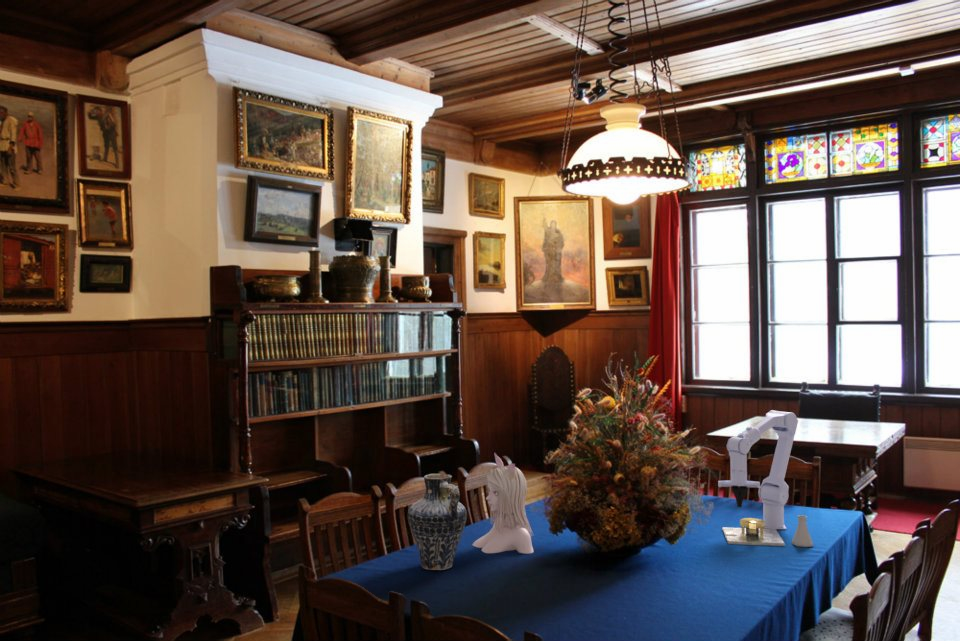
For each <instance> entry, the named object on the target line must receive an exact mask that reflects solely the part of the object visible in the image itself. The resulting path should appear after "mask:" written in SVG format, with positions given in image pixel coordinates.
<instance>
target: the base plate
mask: <svg viewBox="0 0 960 641" xmlns="http://www.w3.org/2000/svg"><path fill="white" fill-rule="evenodd" d="M744 529H745V534H742V527H729V526H727V527H726V526H725V527H724V526H723V527H722V533H723V535H724V537H725V540H726V542H727V545H747V546H749V545H750V546H769V547H772V546H773V547H785V546H786V543H785V542H784V540H783V538H782V537H781V536H780V534H779V532H778V531H777V529H765V528H763V535H760V528H758V529H756V533H749V528H746V527H744Z"/></svg>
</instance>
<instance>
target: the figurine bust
mask: <svg viewBox="0 0 960 641" xmlns="http://www.w3.org/2000/svg"><path fill="white" fill-rule="evenodd" d="M493 455H494V459H495V463H496V467H495V468H493V469H492V468H491V469H490V470H489V471H488V473H487V475H486V479H485V480H486V487H487V489H486V490H487V494H488V495H487V496H486V497H485V500H486V501H487V504H488V506H489V507H490V516H489V517H490V520H489V523H490V524H491V525H490V524H489V526H488V527H490V526H492V525H493V526H492V528H490V530H489V532H487V533H486V534H484V535H483V536H481V537H479V538H478V539H477V540H475V541H473V543H472V544H471V545H472V546H473V547H476V548H479V549H480V548H481V552H483V553H485V554H496V553H502V552H506V551H507V552H509V551H517V552H518V553H519V554H526V555H527V554H533V553H534V548H533V544H532V537H533V536H535V534H534V533H533V530H532V528H531V526H530V521H529V519H528V518H527V513H526V498H527V493H528V483H527V479H526V477H525V475H524V473H523V472H522V471H521V469H519V468H518V467H517V466H516V463H509V464H508V465H504V462H503V461H502V458H500V457H499V456H498V455H497V453H496V452H494V454H493Z"/></svg>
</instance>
